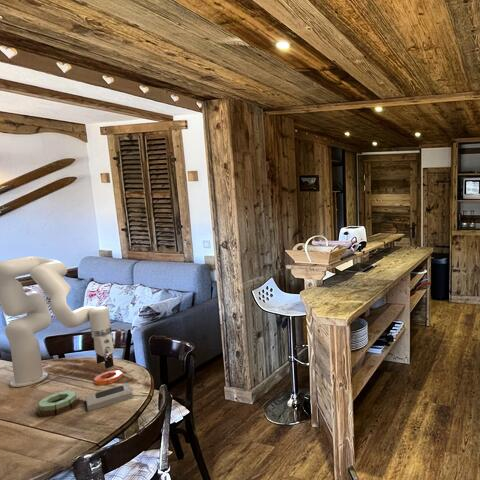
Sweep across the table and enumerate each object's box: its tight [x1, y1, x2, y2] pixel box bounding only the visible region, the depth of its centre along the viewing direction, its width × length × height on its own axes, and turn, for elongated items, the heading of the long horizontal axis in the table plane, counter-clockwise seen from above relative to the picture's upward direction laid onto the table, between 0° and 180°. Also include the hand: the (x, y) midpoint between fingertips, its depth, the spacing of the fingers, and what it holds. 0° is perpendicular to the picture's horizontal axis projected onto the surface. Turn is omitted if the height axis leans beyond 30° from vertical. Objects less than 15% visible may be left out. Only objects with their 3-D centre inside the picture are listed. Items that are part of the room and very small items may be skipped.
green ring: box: [37, 390, 78, 411], centre depth 150 cm, size 11×11×2 cm
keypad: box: [85, 383, 133, 412], centre depth 156 cm, size 10×4×15 cm
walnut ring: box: [36, 396, 80, 418], centre depth 150 cm, size 12×12×2 cm
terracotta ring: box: [93, 369, 124, 386], centre depth 173 cm, size 10×10×2 cm
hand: (105, 364), depth 174 cm, fingers open, 9 cm apart
